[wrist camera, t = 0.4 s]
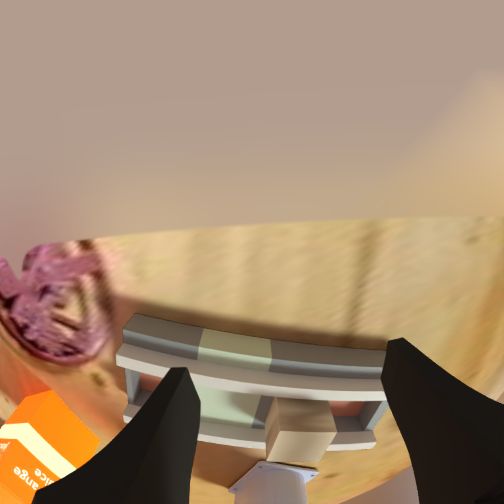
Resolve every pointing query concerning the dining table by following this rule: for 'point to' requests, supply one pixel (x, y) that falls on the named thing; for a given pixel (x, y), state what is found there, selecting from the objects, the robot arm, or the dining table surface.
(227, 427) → the track
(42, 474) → the orange juice
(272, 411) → the block
